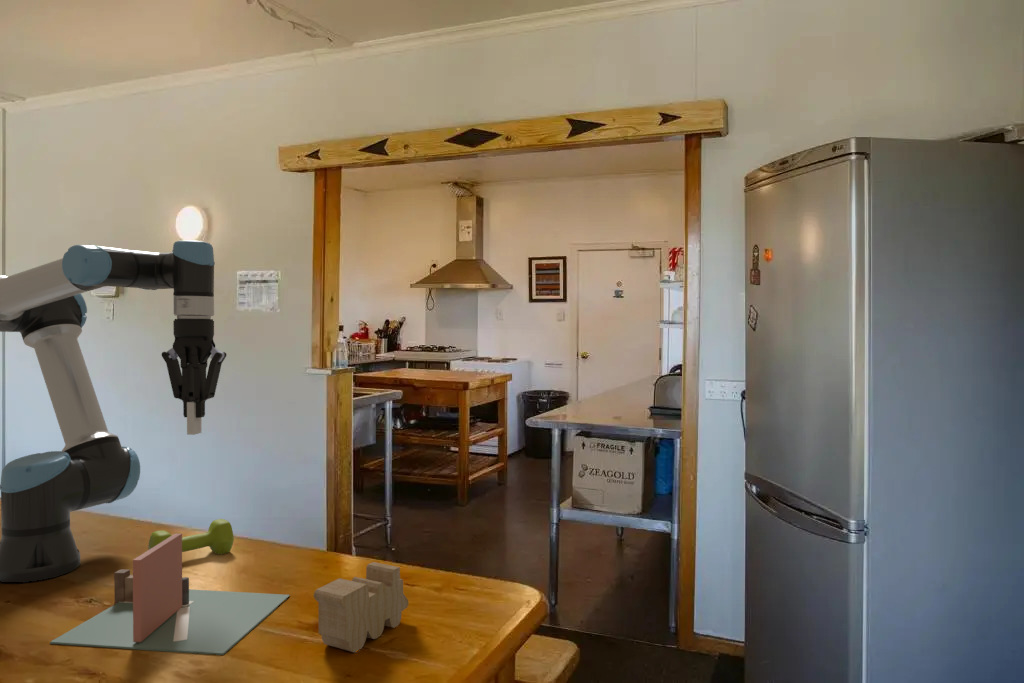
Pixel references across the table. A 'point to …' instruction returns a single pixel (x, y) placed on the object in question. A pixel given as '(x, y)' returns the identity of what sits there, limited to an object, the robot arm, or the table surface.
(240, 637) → the card
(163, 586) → the gate panel
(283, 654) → the table surface
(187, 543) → the dumbbell
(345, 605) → the toy train
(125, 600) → the fence wall
